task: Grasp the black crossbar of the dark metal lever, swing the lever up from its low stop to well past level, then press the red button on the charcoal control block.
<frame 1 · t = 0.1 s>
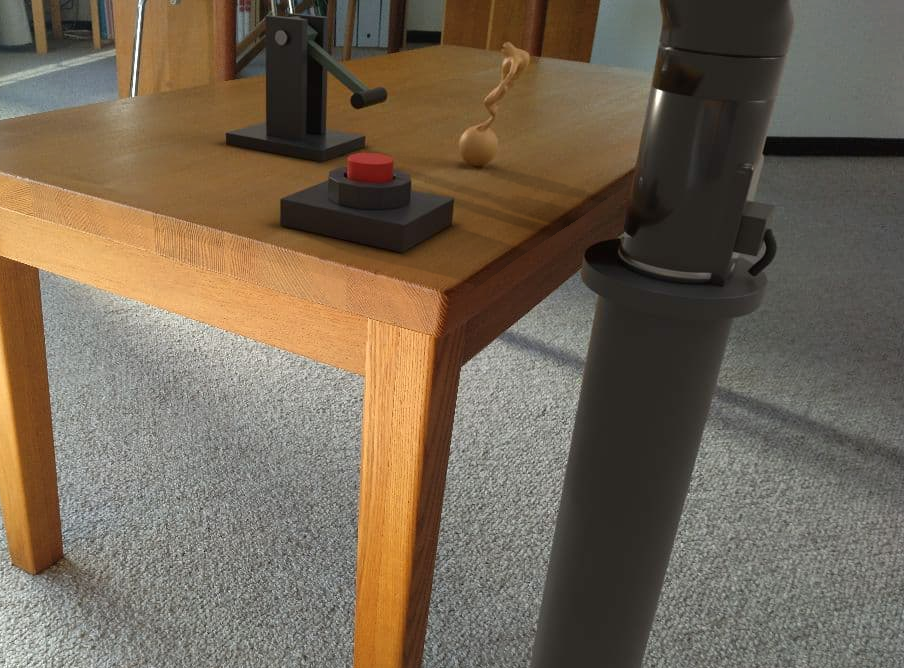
figurine: (485, 168, 92), on the table
bracket: (296, 145, 96), on the table
button: (370, 169, 70), point 4 cm above the table, slide at 0.1 cm
lever: (330, 64, 90), point 9 cm above the table, hinge at -30.0°
button block: (367, 225, 72), on the table
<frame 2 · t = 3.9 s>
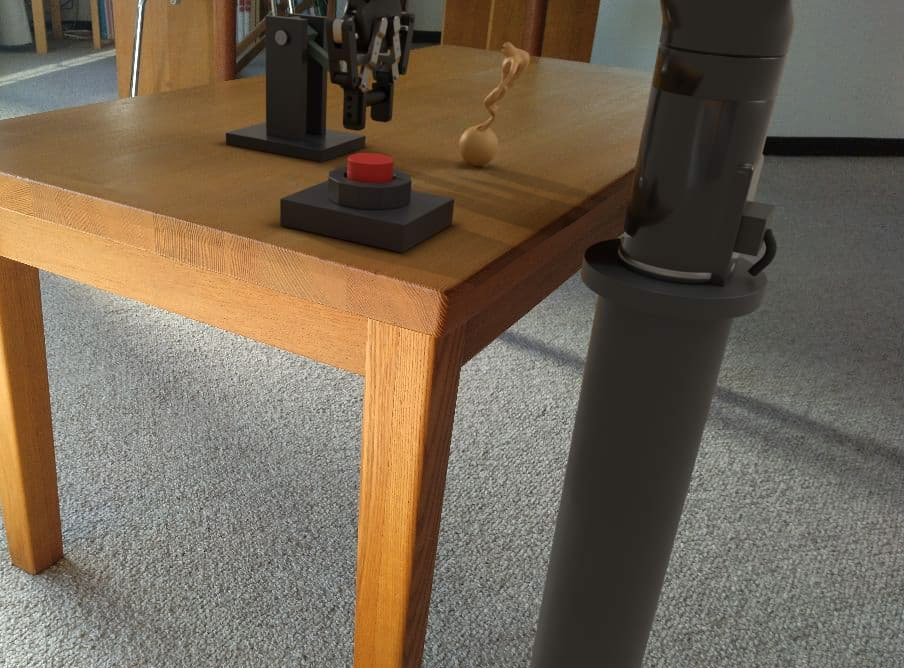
hand: (367, 124, 91), 3 cm above the table, tool pointing down, fingers closed on lever, 5 cm apart
lever: (330, 64, 90), point 9 cm above the table, hinge at -30.1°, touching gripper
everything else where it was.
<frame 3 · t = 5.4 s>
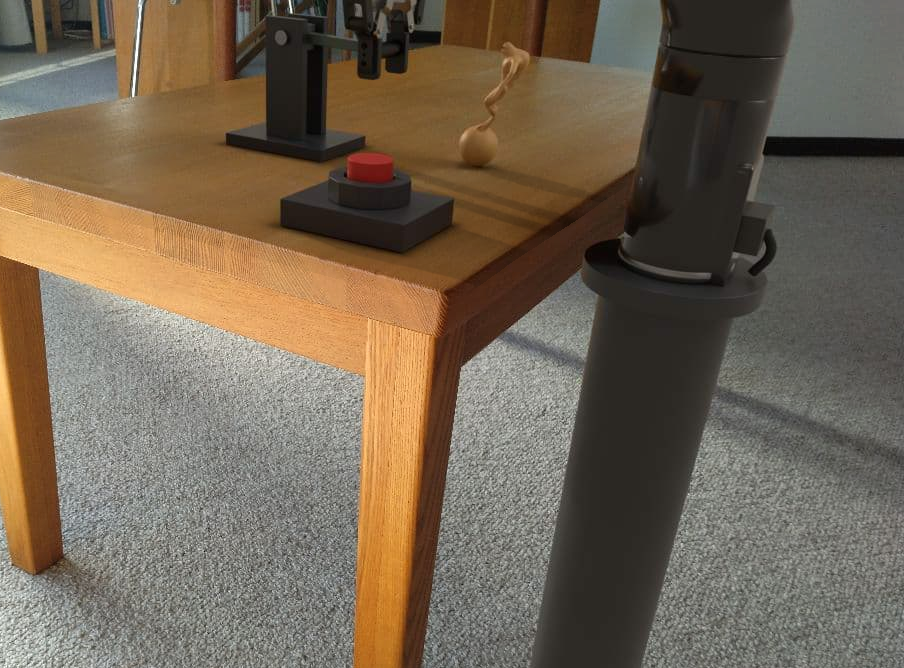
hand: (382, 74, 88), 8 cm above the table, tool pointing down, fingers closed on lever, 5 cm apart
lever: (336, 42, 89), point 11 cm above the table, hinge at -2.1°, touching gripper
everything else where it was.
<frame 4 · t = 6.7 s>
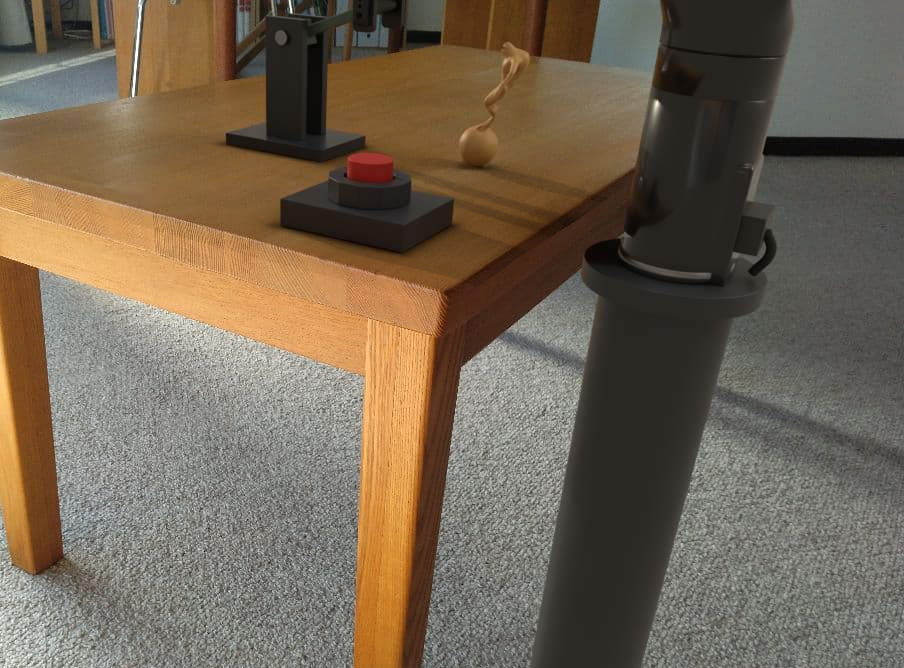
hand: (378, 28, 86), 12 cm above the table, tool pointing down, fingers closed on lever, 5 cm apart
lever: (334, 21, 88), point 13 cm above the table, hinge at 20.8°, touching gripper
everything else where it was.
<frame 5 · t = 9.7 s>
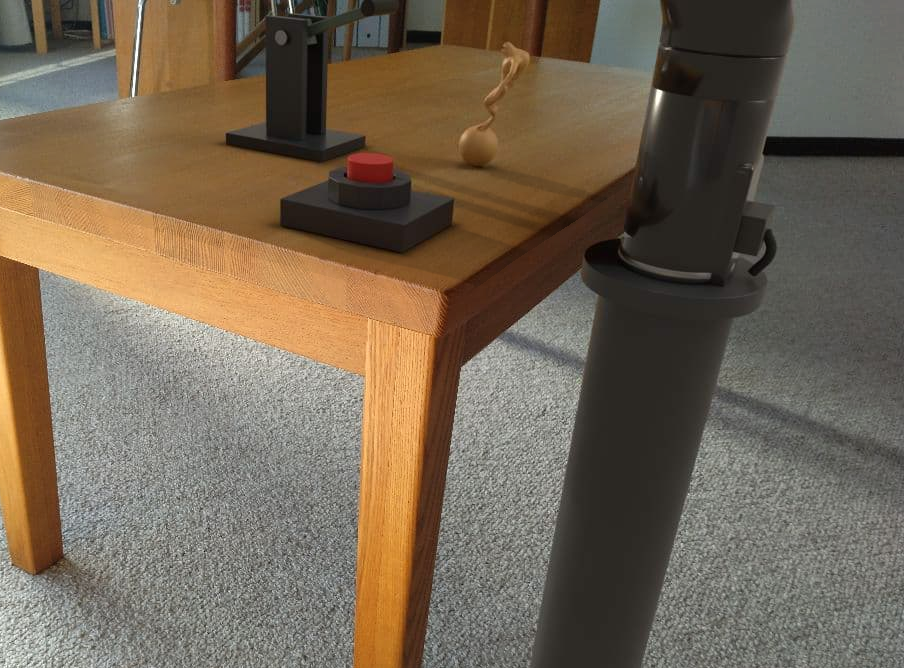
lever: (334, 22, 88), point 13 cm above the table, hinge at 20.4°
everything else where it was.
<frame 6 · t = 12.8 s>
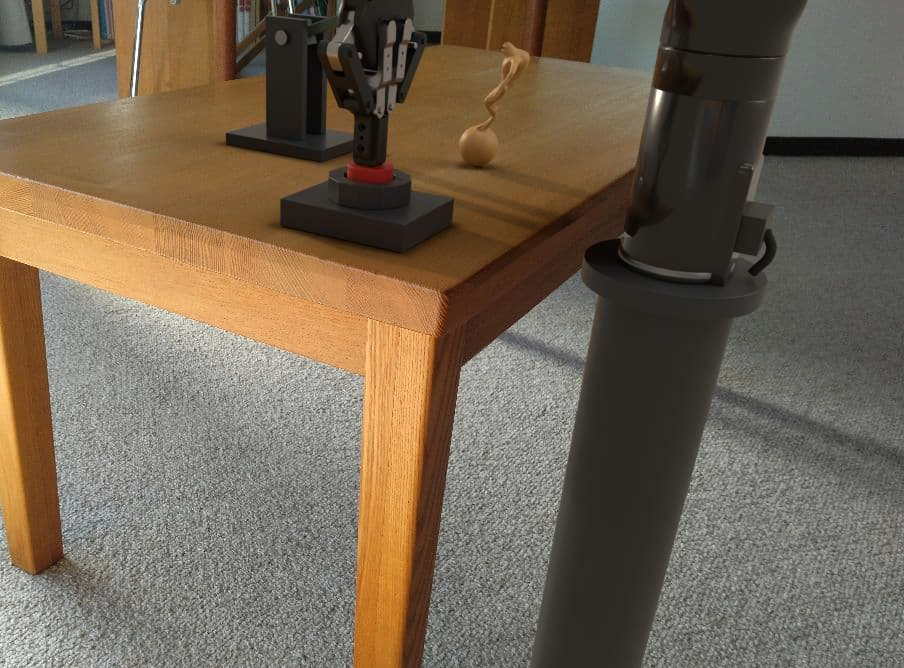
hand: (369, 164, 70), 5 cm above the table, tool pointing down, fingers closed
button: (369, 175, 70), point 4 cm above the table, slide at -0.4 cm, touching gripper
everything else where it was.
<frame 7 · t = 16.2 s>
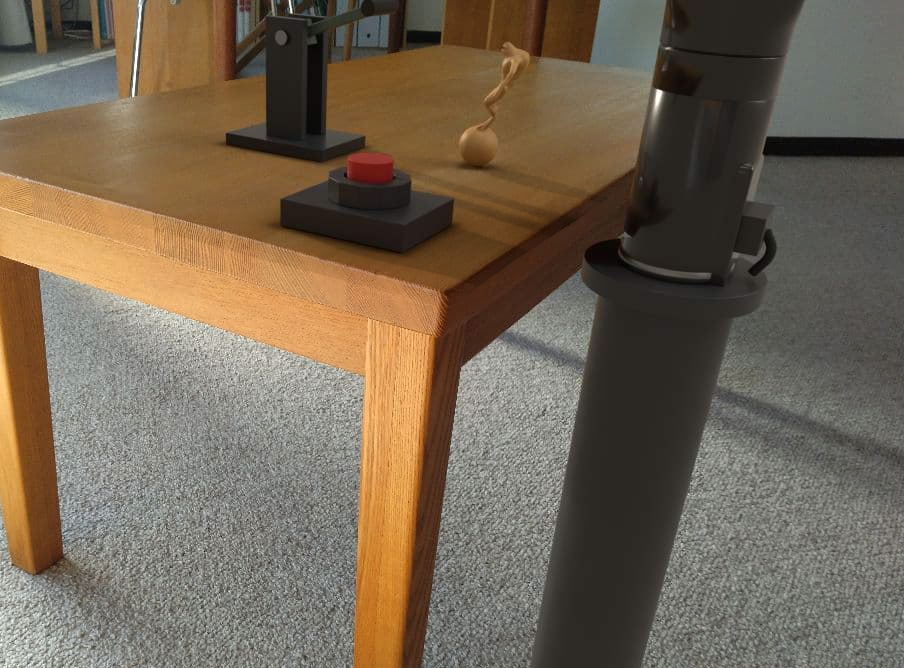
button: (370, 169, 70), point 4 cm above the table, slide at 0.1 cm
everything else where it was.
at the end: lever at +20° (first picture: -30°); button pushed in 1.2 cm at the most during the clip, back to where it started at the end; button slide at 0.1 cm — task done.
